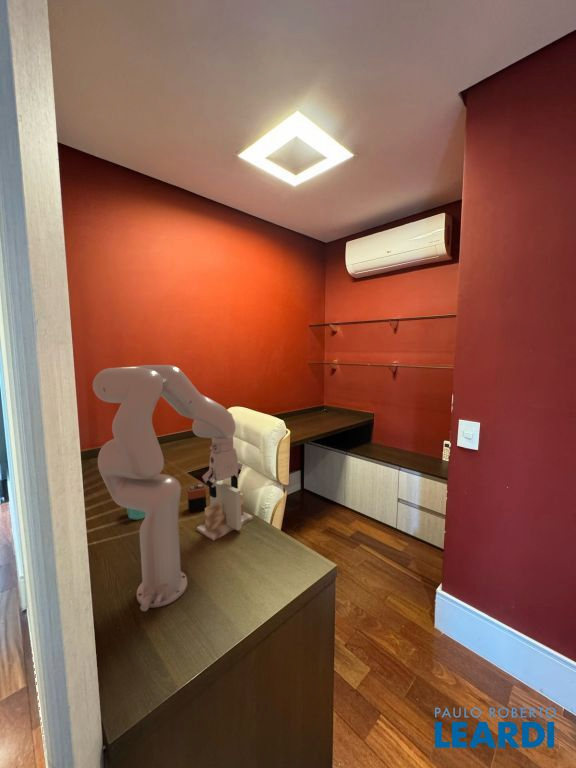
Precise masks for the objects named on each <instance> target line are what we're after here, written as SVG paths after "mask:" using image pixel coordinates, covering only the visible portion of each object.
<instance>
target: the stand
mask: <svg viewBox="0 0 576 768" xmlns="http://www.w3.org/2000/svg"><path fill="white" fill-rule="evenodd" d="M204 517H205V518H204V520H205V522H204V523H203V524H201V525H198V526H196V531H197V532H199V533H201V534H202V535H204V536H205V537H207V538H208V539H210V540H211V541H216V540H217V539H219V538H221V537H223V536H225V535H227V534H228V533H231V532H233V531H234V530H235V529H234V528H232V527H230V526H228V525H227V522H226V514H225V513H223V512H222V503H220V502H217V503H215V504H213V505H211V506H210V505H208V506H206V508H205V510H204ZM252 520H254V516H253V515H251V514H249V513H247V512H245V510H244V493H242V492H241V526H243V525H245V524H246V523H248V522H250V521H252Z"/></svg>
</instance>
